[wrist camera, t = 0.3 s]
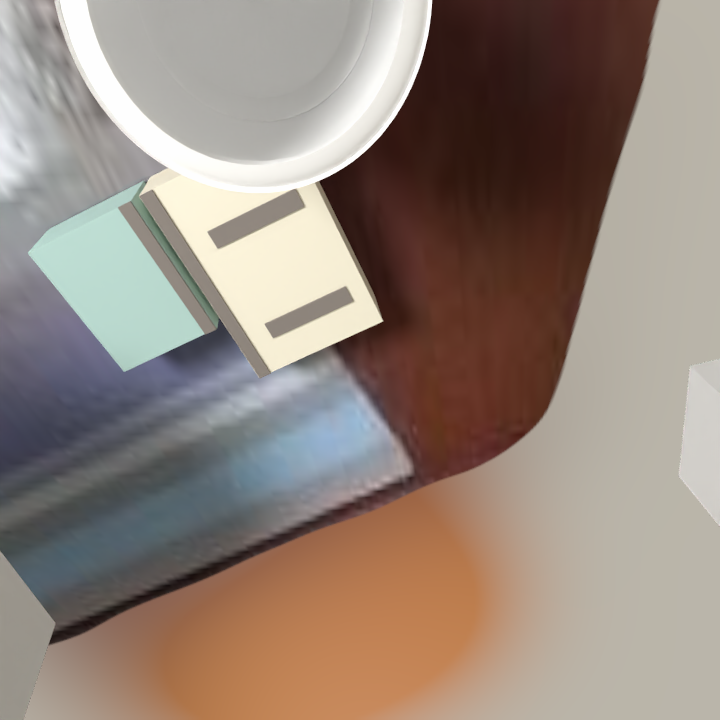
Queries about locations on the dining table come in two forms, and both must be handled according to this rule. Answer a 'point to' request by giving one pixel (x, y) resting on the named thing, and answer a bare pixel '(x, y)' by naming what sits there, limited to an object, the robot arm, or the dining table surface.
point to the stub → (125, 280)
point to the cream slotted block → (266, 265)
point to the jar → (249, 80)
